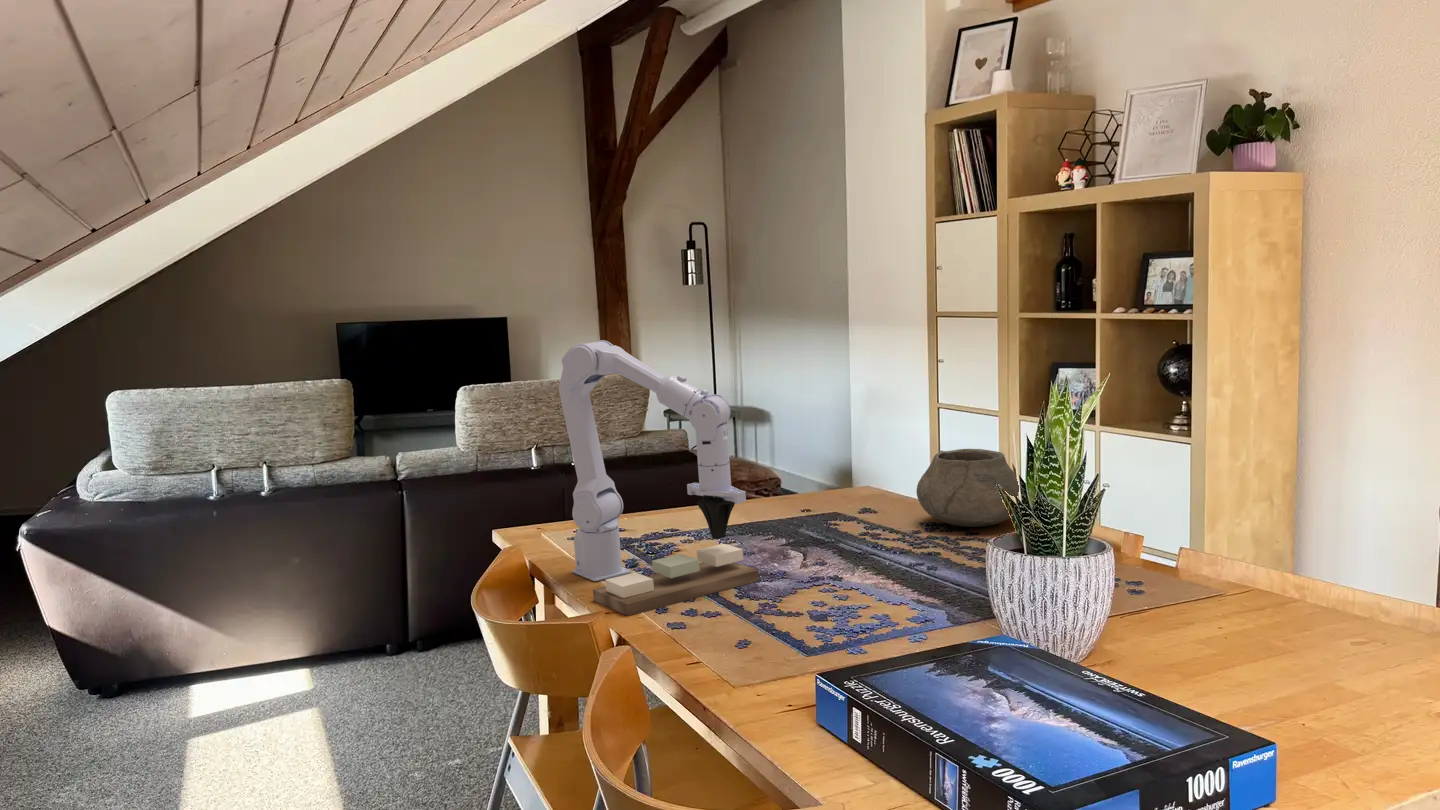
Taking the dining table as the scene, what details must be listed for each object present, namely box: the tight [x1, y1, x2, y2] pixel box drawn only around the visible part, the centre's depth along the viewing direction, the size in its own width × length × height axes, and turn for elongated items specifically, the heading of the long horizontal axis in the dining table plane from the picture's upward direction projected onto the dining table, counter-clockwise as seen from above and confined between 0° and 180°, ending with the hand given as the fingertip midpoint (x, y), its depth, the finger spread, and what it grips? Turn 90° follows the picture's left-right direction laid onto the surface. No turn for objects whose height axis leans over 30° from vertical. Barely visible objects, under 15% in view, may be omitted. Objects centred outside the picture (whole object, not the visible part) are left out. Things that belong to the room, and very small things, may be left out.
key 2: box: [696, 543, 744, 567], centre depth 189 cm, size 6×6×2 cm
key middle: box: [651, 553, 700, 578], centre depth 183 cm, size 6×6×2 cm
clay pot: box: [915, 448, 1019, 528], centre depth 217 cm, size 22×21×15 cm
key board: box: [592, 562, 760, 617], centre depth 184 cm, size 12×27×2 cm, turn 125°
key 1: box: [604, 572, 654, 598], centre depth 178 cm, size 6×6×2 cm
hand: (718, 537), depth 188 cm, fingers closed
